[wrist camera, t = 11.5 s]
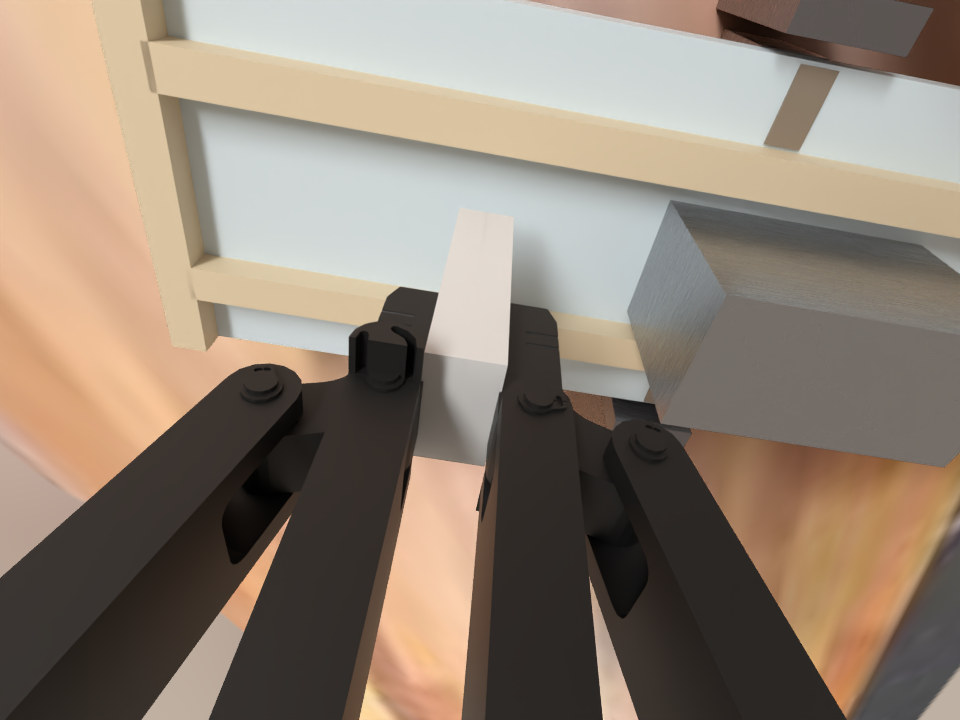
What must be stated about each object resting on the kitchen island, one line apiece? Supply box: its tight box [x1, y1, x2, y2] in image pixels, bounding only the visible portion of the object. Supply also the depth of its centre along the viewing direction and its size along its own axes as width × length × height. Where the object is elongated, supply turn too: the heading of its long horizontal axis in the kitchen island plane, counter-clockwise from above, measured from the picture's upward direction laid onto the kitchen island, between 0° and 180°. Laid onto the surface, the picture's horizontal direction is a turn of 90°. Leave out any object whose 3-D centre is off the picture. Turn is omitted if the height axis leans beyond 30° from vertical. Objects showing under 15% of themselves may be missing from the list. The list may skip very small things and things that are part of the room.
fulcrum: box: [601, 0, 934, 448], centre depth 19 cm, size 15×3×6 cm, turn 171°
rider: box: [627, 200, 960, 467], centre depth 16 cm, size 4×8×6 cm, turn 81°
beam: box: [91, 0, 960, 404], centre depth 18 cm, size 12×36×2 cm, turn 81°
